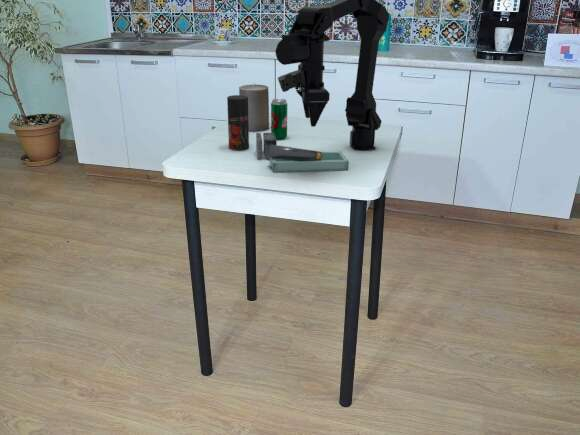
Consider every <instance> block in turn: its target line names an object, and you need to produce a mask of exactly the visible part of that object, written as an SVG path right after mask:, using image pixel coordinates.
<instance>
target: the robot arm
mask: <svg viewBox="0 0 580 435" xmlns="http://www.w3.org/2000/svg"><path fill="white" fill-rule="evenodd" d="M389 14H390V13H389V11H388V9H387V8H386V7H385V6H384V5H383V4H382V3H380V2H379V1H377V0H332V1H330V2H327V3H325V4H322V5H309V6H303V7H301V8H300V9H299V10H298V13H297V15H296V18H295V20H294V22H293V24H292V26H291V28H290V30H289V32H288V34H282V35H281V40H279V42H278V43H277V45H276V48H275V57H276V59H277V61H278V62H279V64H281V65H284V66H285V65H292V64H298V66H297V70H294V71H291V72H288V73H285V74H283V75H280V76H278V77H277V81H278V83H279V86H280V89H281V91H282V93H285V92H288V91H290V90H292V89H295V91H296V93H297V95H299V96H300V97H301V100H302V105H303V110H304V116H305V118H306V119H309V122H310V123H309V124H310V126H311V127H312V128H313V127H314V128H315V127H316V126H317V124H318V121H319V119H320V118H321V116H322V114H323V112H324V110H325V108H326V106H327V104H329V103H328V102H329V101H330V94H331V93H330V92H329V91H328V90H327V89H326V88H325V82H324V78H323V76H324V71H325V65H324V54H325V52H324V50H325V42H330V37H329V36H328V34H326V32H327V31H328V30H329V29H331V28H332V26H333V24H334V22H336V21H338V20H340V19H341V18H344V17H346V16H348V15H351V16H352V17H353V19H355V20H356V30H357V33H358V35H359V38H360V46H359V54H358V62H357V63H358V64H357V71H356V78H355V79H356V80H355V86H354V88H355V89H354V92H353V93H352V95H351V96H350V97H348V96H347V98H346V104H345V109H344V112H345V117H346V121H347V126H350V127H352V128H351V129H352V130H350V133H349V145H350V147H351V148H353V150H354V151H356V150H357V151H358V150H359V151H361V150H362V151H363V150H364V151H366V150H369V151H370V150H376V149H377V148H376V147H375V138H376V131H378V130H379V129H380V128H381V125H382V123H383V122H382V120H381V118H380V116H379V114H378V113H377V102H376V100H375V97H374V94H373V88H374V83H375V82H374V81H375V73H376V65H377V58H378V53H379V52H378V51H379V43H380V40H381V39H382V38H383V36H384V34H385V33H386V32H387V29H388V28H387V27H388V23H389V20H390V15H389Z"/></svg>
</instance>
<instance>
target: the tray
mask: <svg viewBox="0 0 580 435" xmlns="http://www.w3.org/2000/svg"><path fill="white" fill-rule="evenodd" d="M321 152H322V158H321V161H292V160H285V159H278V158H271V157H270V160H269V163H270V166H271V170H272V171H271V172H272V173H295V172H296V173H301V172H329V171H330V172H333V171H334V172H338V171H342V172H343V171H349V168H350V167H349V163H350V161H349V159H348V158H347V157H346V155H345V154H344V152H343V151H342V150H341V151H321Z"/></svg>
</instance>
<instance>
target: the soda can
mask: <svg viewBox="0 0 580 435" xmlns="http://www.w3.org/2000/svg"><path fill="white" fill-rule="evenodd" d="M270 131H271V132H270V133H274V135H275V137H276V140H277V141H278V140H279V141H280V140H282V139H283V140H286V139H287V137H288V102H287V99H285V98H273V99H272V100H271V104H270ZM285 138H286V139H285ZM283 140H282V141H283Z"/></svg>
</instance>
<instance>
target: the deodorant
mask: <svg viewBox="0 0 580 435" xmlns="http://www.w3.org/2000/svg"><path fill="white" fill-rule="evenodd" d="M226 100H227V128H228V129H227V130H228V131H227V132H228V135H227V136H228V149H229V150H231V151H234V152H241V151H242V152H243V151H247V150H248V149H249V148H250V145H249V144H250V133H249V132H250V131H249V122H248V97H247V96H243V95H239V94H236V95H235V94H234V95H229V96H227V97H226Z"/></svg>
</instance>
